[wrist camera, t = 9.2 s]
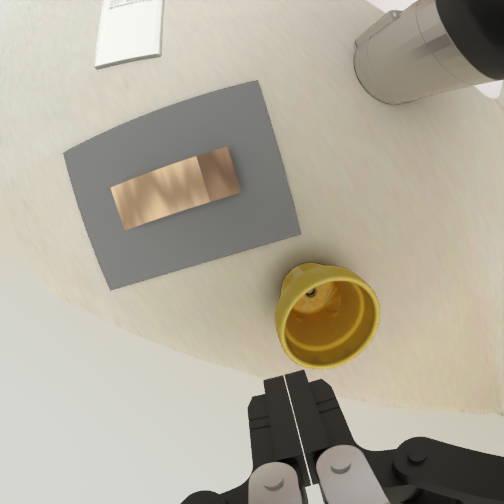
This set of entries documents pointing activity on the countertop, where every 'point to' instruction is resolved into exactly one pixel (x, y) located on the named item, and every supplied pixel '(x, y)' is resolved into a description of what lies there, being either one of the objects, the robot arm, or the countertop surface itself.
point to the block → (176, 188)
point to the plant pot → (325, 315)
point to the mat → (196, 218)
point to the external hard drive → (128, 31)
